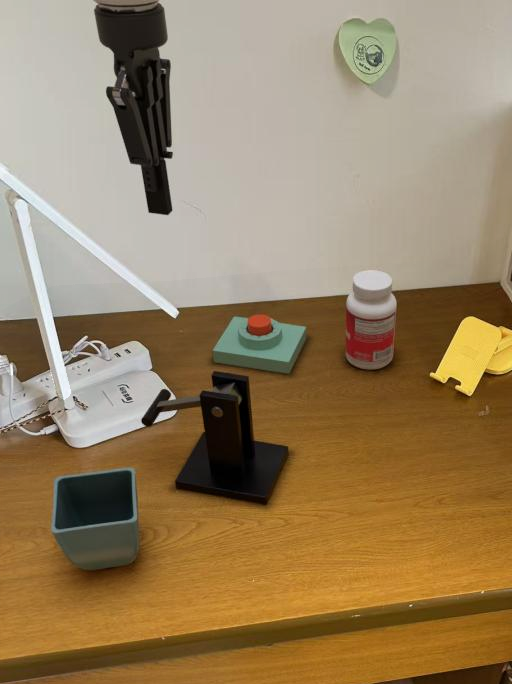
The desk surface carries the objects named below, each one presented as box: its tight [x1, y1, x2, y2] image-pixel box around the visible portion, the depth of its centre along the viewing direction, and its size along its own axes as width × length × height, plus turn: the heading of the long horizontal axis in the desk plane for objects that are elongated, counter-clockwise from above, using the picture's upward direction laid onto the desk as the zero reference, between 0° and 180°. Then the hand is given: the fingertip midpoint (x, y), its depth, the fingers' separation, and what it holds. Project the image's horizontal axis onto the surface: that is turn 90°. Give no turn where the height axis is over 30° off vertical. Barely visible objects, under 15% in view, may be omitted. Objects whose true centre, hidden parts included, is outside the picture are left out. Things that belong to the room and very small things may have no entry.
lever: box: [140, 383, 242, 428], centre depth 94 cm, size 12×6×2 cm, turn 77°
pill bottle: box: [344, 269, 398, 371], centre depth 115 cm, size 8×8×14 cm
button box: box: [212, 316, 307, 375], centre depth 119 cm, size 12×10×4 cm
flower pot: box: [50, 467, 141, 571], centre depth 87 cm, size 9×9×9 cm
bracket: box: [174, 370, 290, 505], centre depth 96 cm, size 12×10×14 cm
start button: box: [247, 314, 272, 336], centre depth 118 cm, size 4×4×2 cm
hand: (160, 211), depth 100 cm, fingers closed
